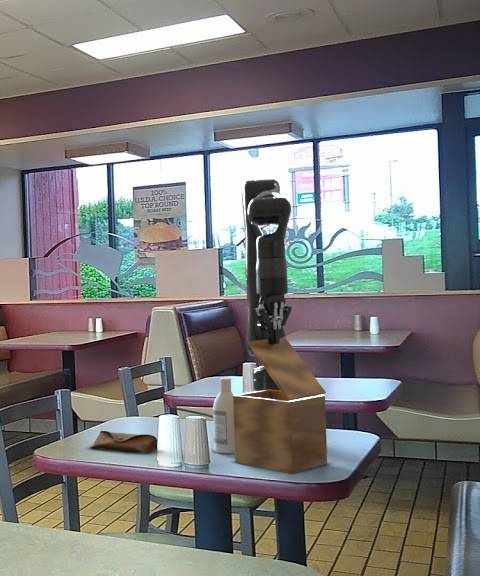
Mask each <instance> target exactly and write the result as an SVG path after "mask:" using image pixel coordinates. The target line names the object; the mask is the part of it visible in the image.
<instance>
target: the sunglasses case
mask: <svg viewBox="0 0 480 576" xmlns="http://www.w3.org/2000/svg"><path fill="white" fill-rule="evenodd" d="M157 441H158V439H157V437H156V436H154V435H152V434H136V433H126V432H116V431H115V432H113V431H109V430H100V432H99V434H98V436H97V437H96V438H95V440H94V442H93V443H92V446H89V448H90V449H101V450H108V451H116V452H125V453H152V452H155V451H157V450H158V448H157Z"/></svg>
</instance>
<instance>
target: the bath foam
mask: <svg viewBox="0 0 480 576" xmlns="http://www.w3.org/2000/svg"><path fill="white" fill-rule="evenodd" d="M233 395H234V393H233V391H232V379H231V378H230V377H220V378H219V393H218V394H217V396H216V397H215V399H214V401H213V404H212V405H213V406H212V415H213V418H212V419H213V421H212V422H213V449H214V451H215V452H216V453H219V454H224V455H225V454H226V455H227V454H229V455H231V454H235V434H234V404H233Z"/></svg>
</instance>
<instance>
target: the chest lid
mask: <svg viewBox="0 0 480 576" xmlns="http://www.w3.org/2000/svg"><path fill="white" fill-rule="evenodd" d="M247 344H248V345H249V346H250V348H251V349H252V351H253V352H254V354H255V355H256V356H255V357H256V358H257V359H258V361H259V362H260V364H261V365H262V366H264V368H265V369H266V371H267V372H268V373H269V375H270V376H271V378H272V379H273V381H274V382H275V383H276V385H277V386H278V388H279V389H280V390H281V392H282V393H283V395H284V396H285V398H286V399H287V400H288V401H290V400H295V399H301V398H306V397H312V396H317V395H325V394H326V393H327V392H326V390H325V389H324V387H323V386H322V384H320V382H319V381H318V379H317V378H316V376H315V375H314V374H313V373H312V371H311V370H310V368H309V367H308V366H307V364H306V363H305V361H304V360H303V359H302V358H301V356H300V355H299V354H298V353H297V351H296V349H295V348H294V347H293V346H292V344H291V343H290V342H289V340H288V338H287V337H286V338H280V340H279V344H269V341H268V339H267V340H258V341H249V342H248V343H246V345H247Z"/></svg>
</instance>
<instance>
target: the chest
mask: <svg viewBox="0 0 480 576" xmlns="http://www.w3.org/2000/svg"><path fill="white" fill-rule="evenodd" d="M233 404H234V434H235V453H234V459H235V463H236V464H237V463H238V464H242V465H248V466H251V467H257V468H260V469H261V468H262V469H265V470H266V469H267V470H272V471H277V472H281V473H286V474H294V473H295V474H296V473H299V472H302V471H306V470H310V469H313V468H319V467H322V466H325V465H327V464H328V447H327V444H328V443H327V415H326V414H327V413H326V395H325V394H323V395H317V396H312V397H306V398H301V399H295V400H290V401H288V400H287V399H286V398H285V396H284V395H283V393H282V392H281V391H280V390H270V389H268V390H262V391H256V392H253V391H251V392H246V393H245V392H244V393H239V394H233Z"/></svg>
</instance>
